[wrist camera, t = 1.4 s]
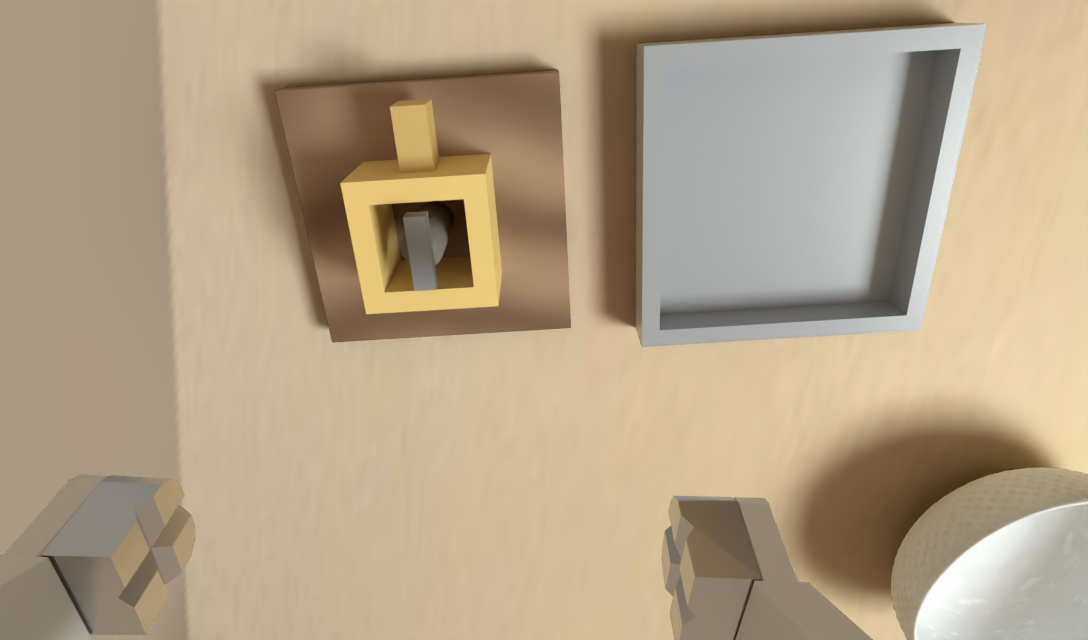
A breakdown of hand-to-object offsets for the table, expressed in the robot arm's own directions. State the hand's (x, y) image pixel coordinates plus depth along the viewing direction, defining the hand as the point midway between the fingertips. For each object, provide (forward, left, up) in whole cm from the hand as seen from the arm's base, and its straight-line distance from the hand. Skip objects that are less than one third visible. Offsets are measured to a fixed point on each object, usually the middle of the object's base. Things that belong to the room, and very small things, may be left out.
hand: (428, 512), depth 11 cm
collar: (-1, +4, -25) cm, 26 cm away
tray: (-2, -15, -27) cm, 31 cm away
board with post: (-2, +4, -27) cm, 27 cm away
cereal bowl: (-28, -32, -27) cm, 51 cm away
